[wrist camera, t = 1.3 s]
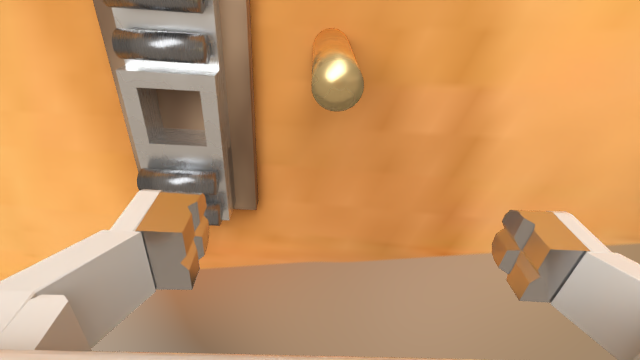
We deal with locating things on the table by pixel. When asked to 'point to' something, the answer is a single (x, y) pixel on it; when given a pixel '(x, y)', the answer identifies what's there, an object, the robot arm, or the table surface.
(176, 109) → the chain base
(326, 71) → the pin
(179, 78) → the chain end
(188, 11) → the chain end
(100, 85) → the table surface
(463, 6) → the table surface
